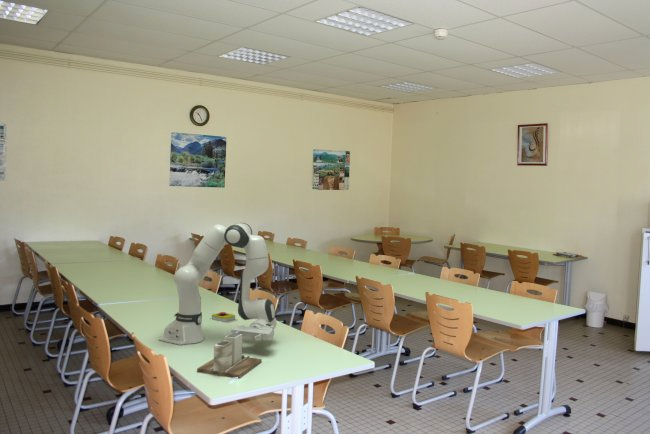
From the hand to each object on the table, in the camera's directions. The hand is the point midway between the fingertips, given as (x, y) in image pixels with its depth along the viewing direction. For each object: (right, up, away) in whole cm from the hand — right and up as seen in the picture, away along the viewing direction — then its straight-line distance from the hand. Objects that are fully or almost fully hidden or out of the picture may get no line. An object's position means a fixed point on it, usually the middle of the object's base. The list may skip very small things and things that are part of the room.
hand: (244, 337), depth 250 cm
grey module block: (-4, -9, -10) cm, 14 cm away
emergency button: (-23, -5, +69) cm, 72 cm away
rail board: (-5, -10, -13) cm, 17 cm away
